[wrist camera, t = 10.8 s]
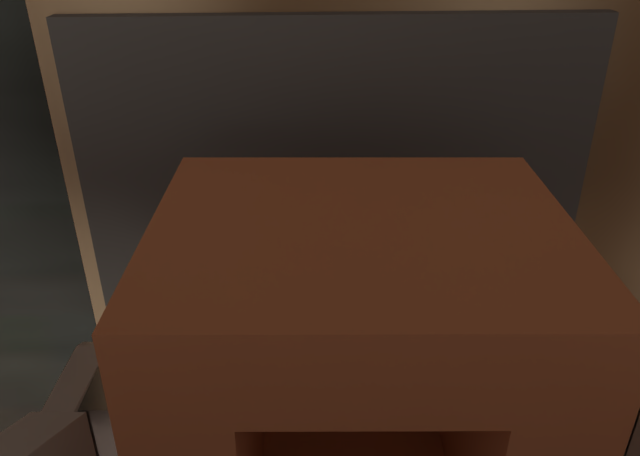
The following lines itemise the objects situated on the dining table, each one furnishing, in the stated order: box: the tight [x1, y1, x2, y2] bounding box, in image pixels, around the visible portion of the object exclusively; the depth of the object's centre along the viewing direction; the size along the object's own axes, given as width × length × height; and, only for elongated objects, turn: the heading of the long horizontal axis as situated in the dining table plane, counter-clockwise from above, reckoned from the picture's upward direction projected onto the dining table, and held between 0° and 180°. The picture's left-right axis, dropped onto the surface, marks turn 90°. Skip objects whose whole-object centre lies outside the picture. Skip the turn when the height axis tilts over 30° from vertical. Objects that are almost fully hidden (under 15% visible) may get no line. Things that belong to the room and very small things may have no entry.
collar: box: [92, 157, 640, 456], centre depth 10 cm, size 6×6×5 cm
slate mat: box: [46, 9, 619, 306], centre depth 15 cm, size 11×11×1 cm
